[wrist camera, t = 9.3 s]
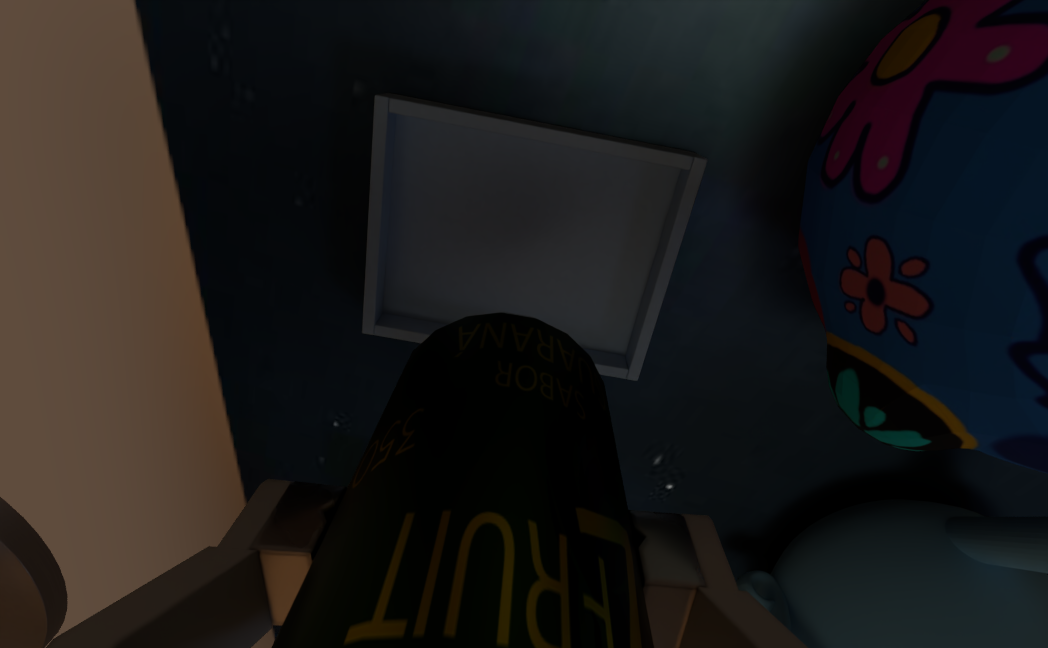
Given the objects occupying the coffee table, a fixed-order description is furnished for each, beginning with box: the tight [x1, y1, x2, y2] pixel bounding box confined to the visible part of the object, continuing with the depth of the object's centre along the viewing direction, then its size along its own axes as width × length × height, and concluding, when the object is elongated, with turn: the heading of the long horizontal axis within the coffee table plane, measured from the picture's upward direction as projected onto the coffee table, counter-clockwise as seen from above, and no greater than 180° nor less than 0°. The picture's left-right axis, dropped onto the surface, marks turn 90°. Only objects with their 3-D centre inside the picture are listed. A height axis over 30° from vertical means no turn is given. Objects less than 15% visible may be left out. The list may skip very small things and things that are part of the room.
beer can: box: [272, 312, 654, 648], centre depth 9 cm, size 5×5×12 cm
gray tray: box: [362, 93, 708, 381], centre depth 26 cm, size 14×11×2 cm
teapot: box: [737, 499, 1048, 648], centre depth 28 cm, size 20×20×13 cm
